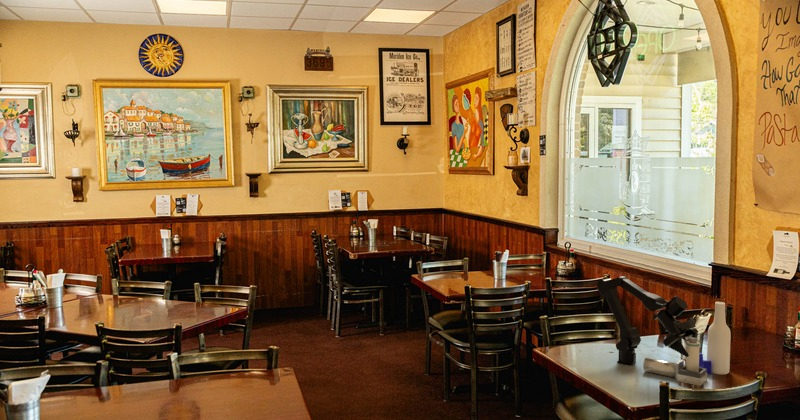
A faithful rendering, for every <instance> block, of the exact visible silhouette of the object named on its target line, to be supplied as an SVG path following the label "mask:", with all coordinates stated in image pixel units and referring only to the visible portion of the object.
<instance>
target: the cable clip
mask: <svg viewBox="0 0 800 420" xmlns="http://www.w3.org/2000/svg"><path fill="white" fill-rule="evenodd" d="M699 367H700V368H705V369H707V372H706V373H707V376H711V375H712V373H711V361H710V360H707V359H704V354H703V353H702V352H700V353H699Z"/></svg>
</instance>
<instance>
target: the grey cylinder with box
mask: <svg viewBox="0 0 800 420" xmlns="http://www.w3.org/2000/svg"><path fill="white" fill-rule="evenodd" d="M684 363H685V360H684V359H679V361H677V362H675V361H673V362H672V361H668V360H662V359H657V358H652V357H645V358H644V360H643V367H642V368H643V371H644V372H646V373H651V374H656V375H661V376H666V377H670V378H675V381H677V382H679V383H685V384H690V385H695V386H699V387H701V386H702V385H704V383H705V382H706V381H708V375H707V373H706V372H707V369H705V368H700V367H699V373H696V372H691V371H686V364H684Z"/></svg>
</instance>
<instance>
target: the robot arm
mask: <svg viewBox="0 0 800 420" xmlns="http://www.w3.org/2000/svg"><path fill="white" fill-rule="evenodd" d="M597 281H598V282H597V284H596V289H597V290H598V292H599V294H600V295H601V296H602V297H603V298H604V299H605V300H606V301H607V304H608V306H609V308H610V310H611V312H612V315H613V317H614V319H615V321H616V323H617V324H616V325H617V326H618V327H619V338H620V341H618V342H617V343H615V347H616V350H618V358H617V359H618V360H617V361H616V363H618V364H622V365H628V366H632V365H634V364H635V363H637V353H636V349H637V348H638V347H639V345H640V344H641V341H642V338H641V337H642V335H641V334H640V333H639V329H638V328H637V327H633V326H631V324H630V322H629V319H628V317H627V315H626V312H625V310H624V307H623V306H622V304H621V301H620V299H619V297H618V287H620V288H621V289H624V291H626V292H628V293H630V294H631V295H632V296H634V297H635V298H636V299H638V300H640V302H641V303H642V305H643V306H644V307H645V308H646V309H647V310H648V311H650V312H653V313H652V314H653V315H652V320H653V321H654V320H658V321H659V322H660V323H661V324H662V326H663V327H664V328H663V331H665V332H668V333H669V334H668V335H667V336H666V337H665V338H664V339H662V344H663V345H664V347H665V348H667V347H668V349H670V350H671V349H672V350H674V351H675V352H677V353H679V354H680V355H682V356H684V357H685V358H686V357H688V356H689V355H688V353H687V351H686V347H685V346H684V345H683V343H682V342H683V341H684V343H685V344H686V341H689V338H690V337H693V338H697V339H698V335H699V330H698V329H697V328H696V323H697V321H696V320H695V319H694V318H693V317H689V318H688V317H687V318H686V320H685V321H681V320H680V319H679V320H677V319H676V317H678V316H680V315H682V313H683V312H684V311H686V310H687V309H688V307H689V306H688V304H687V302H686V301H684V299H682V298H680V297H679V296H678V295H675V296H673V297H671V299H670V300H667V299H664V297H662V296H660V295H657V294H656V293H651V292H648V291H647V290H645V289H644V288H642V287H641V286H639V285H637V284H636V283H635V282H633V281H632V280H630V279H629V278H628V277H626V276H618V277H615V278H611V277H610V278H603V279H600V280H597ZM657 311H658V312H657ZM682 340H683V341H682ZM699 353H702V352H701V348H700V347H699Z"/></svg>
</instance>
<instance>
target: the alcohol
mask: <svg viewBox="0 0 800 420" xmlns="http://www.w3.org/2000/svg"><path fill="white" fill-rule="evenodd" d="M731 335H732V334H731V329H730V327H729V326H728V325H727V323H726V303H725V302H724V301H723V302H722V301H715V305H714V315H713V321H712V323H711V325H709V327H708V329H707V345H706V360H710V361H711V374H714V375H723V376H724V375H727V374H729V372H730V365H731V364H730V363H731V340H732V339H731V338H732V337H731Z"/></svg>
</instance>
